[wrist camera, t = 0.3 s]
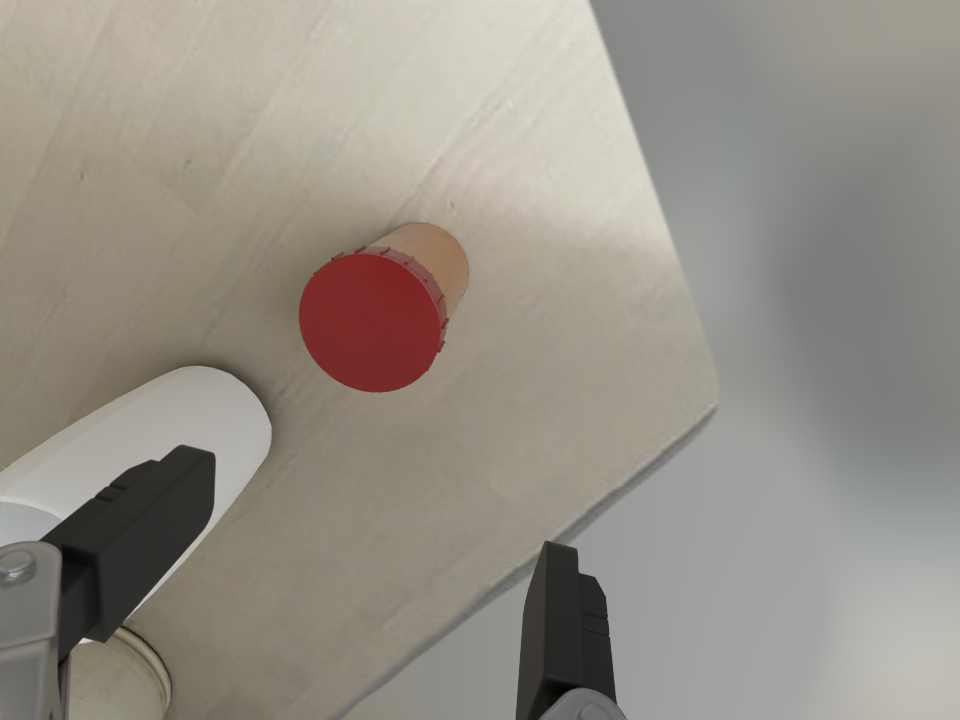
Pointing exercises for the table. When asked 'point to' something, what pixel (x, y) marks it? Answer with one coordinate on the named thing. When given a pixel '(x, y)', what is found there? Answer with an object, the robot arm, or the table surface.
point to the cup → (138, 450)
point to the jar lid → (373, 318)
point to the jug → (118, 680)
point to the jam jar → (433, 257)
